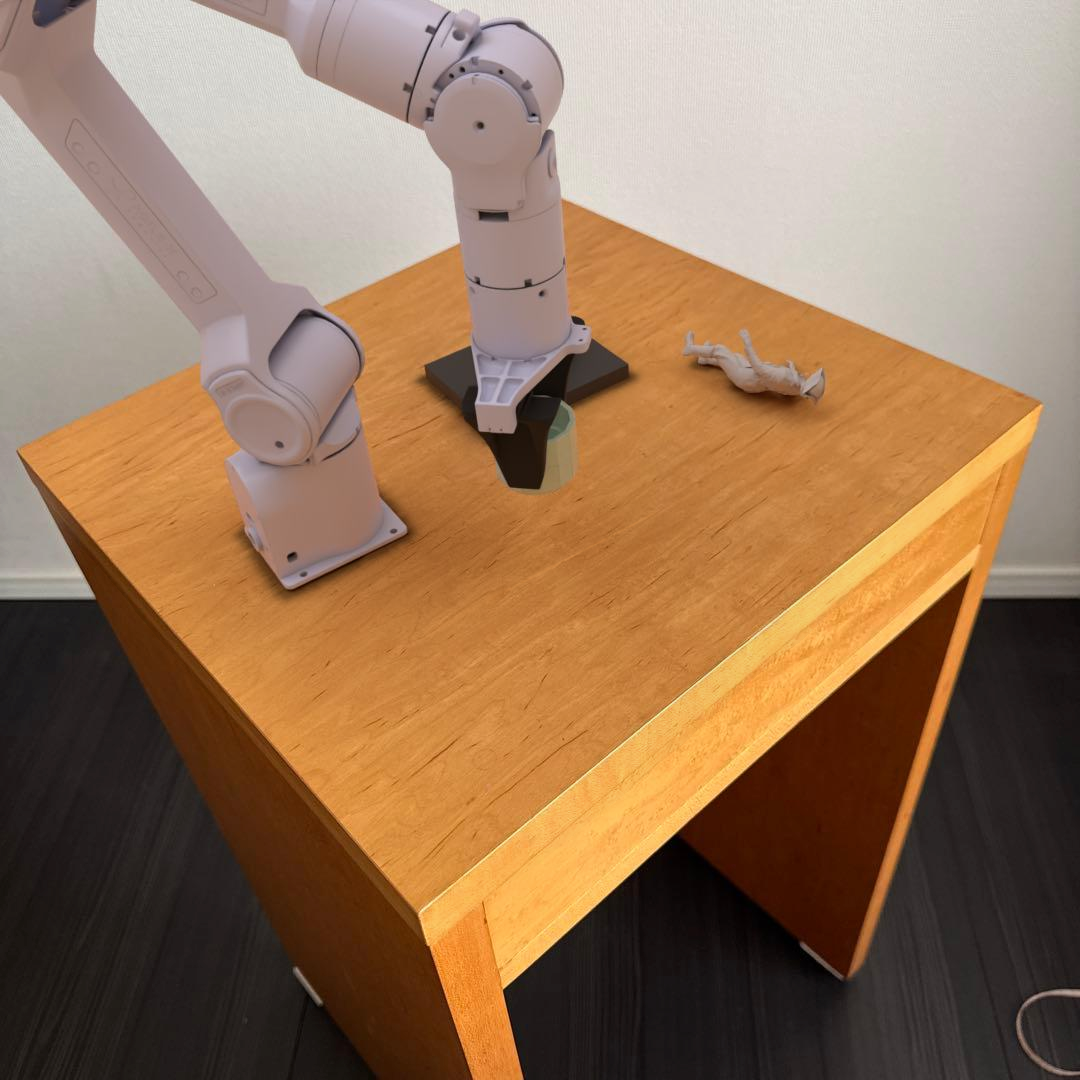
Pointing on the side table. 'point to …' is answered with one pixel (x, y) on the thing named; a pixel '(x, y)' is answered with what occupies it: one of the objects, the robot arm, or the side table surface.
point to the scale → (584, 380)
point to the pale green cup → (556, 454)
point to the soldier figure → (756, 370)
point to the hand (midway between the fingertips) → (535, 455)
